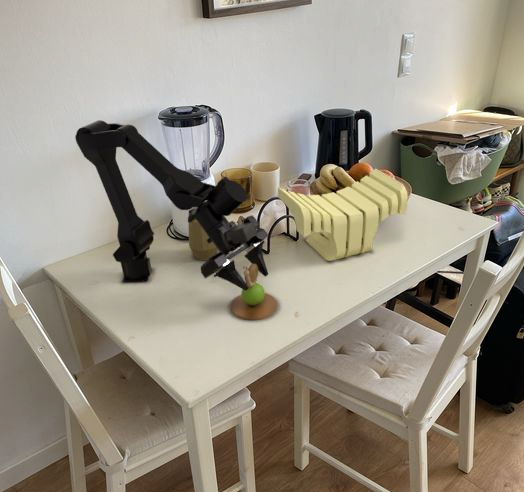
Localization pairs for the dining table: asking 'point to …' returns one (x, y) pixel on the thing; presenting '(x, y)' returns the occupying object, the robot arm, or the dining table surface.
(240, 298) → the plate
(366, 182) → the slatted curved stool
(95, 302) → the dining table surface
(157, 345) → the dining table surface
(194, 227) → the squeeze bottle
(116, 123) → the robot arm
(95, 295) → the dining table surface
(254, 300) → the snail figurine
